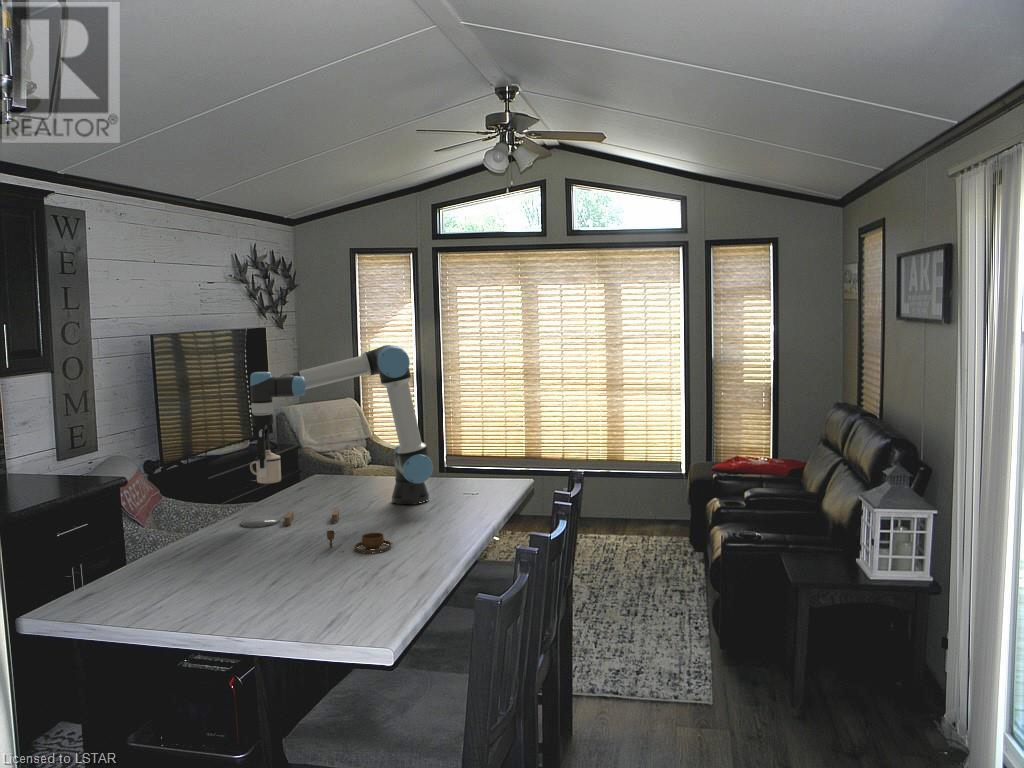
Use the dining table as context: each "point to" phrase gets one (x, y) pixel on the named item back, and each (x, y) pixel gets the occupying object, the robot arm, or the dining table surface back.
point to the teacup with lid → (269, 468)
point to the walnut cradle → (289, 516)
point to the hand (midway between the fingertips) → (264, 474)
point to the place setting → (365, 542)
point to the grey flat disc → (260, 521)
